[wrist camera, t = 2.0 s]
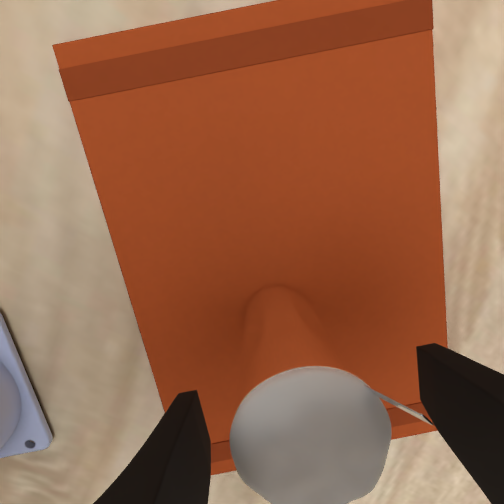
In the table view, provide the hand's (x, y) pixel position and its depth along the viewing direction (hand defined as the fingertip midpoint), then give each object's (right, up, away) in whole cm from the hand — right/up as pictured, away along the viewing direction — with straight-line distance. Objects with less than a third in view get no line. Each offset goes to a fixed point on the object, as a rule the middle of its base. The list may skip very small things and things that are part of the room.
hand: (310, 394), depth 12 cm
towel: (0, +4, +6) cm, 7 cm away
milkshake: (0, +2, +6) cm, 7 cm away
